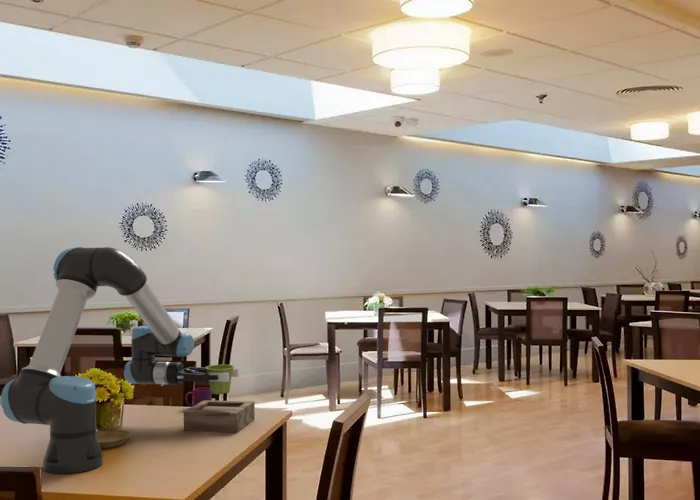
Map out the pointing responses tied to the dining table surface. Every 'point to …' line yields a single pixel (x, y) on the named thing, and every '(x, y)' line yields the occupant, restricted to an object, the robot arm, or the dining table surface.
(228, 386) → the plant pot
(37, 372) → the robot arm
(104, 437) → the plant saucer
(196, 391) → the mug
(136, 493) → the dining table surface
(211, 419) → the walnut plant stand
